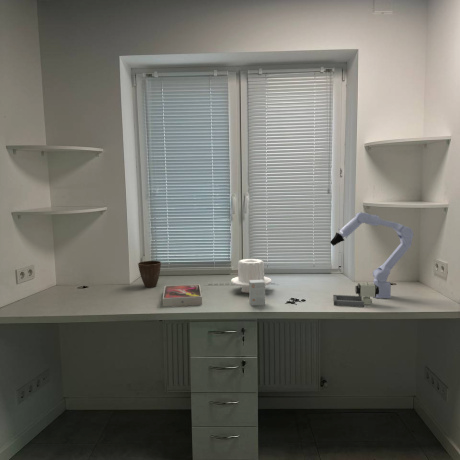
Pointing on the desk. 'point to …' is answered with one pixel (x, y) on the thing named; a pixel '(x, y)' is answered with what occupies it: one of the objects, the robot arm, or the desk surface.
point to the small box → (256, 292)
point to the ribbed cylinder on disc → (250, 273)
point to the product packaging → (182, 295)
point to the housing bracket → (353, 301)
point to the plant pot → (150, 272)
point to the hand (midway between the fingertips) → (331, 244)
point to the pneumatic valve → (366, 292)
